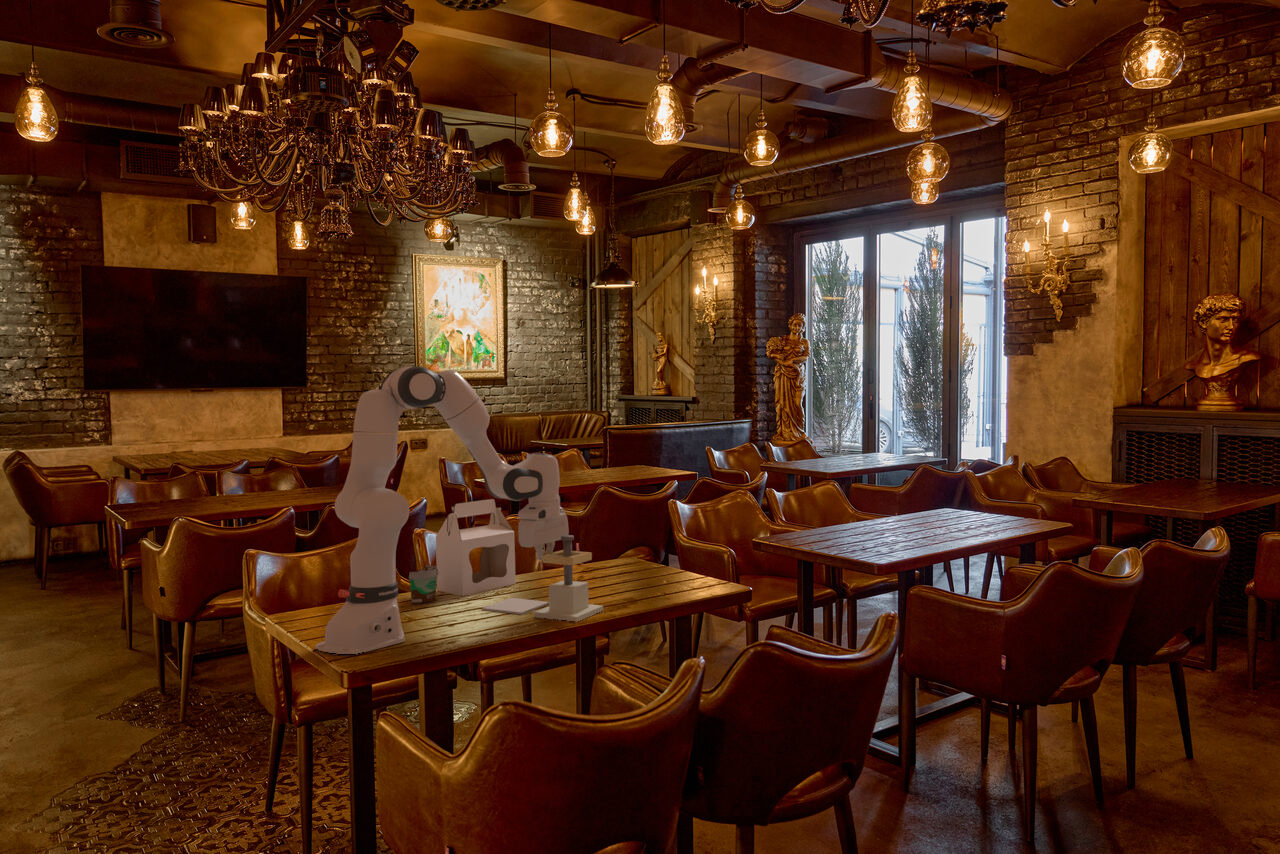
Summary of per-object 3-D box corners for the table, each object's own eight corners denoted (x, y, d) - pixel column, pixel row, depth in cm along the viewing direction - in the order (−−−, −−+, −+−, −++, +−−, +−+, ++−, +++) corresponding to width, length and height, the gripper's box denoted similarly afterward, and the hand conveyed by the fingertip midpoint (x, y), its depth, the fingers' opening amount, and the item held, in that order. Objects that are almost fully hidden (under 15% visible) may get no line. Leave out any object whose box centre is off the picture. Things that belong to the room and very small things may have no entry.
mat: (521, 614, 254) (521, 612, 254) (482, 609, 261) (482, 607, 261) (549, 604, 266) (549, 602, 266) (511, 599, 273) (511, 597, 273)
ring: (572, 565, 246) (572, 558, 246) (527, 561, 253) (527, 554, 253) (591, 559, 255) (591, 552, 255) (547, 555, 262) (547, 548, 262)
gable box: (490, 579, 305) (488, 496, 304) (516, 584, 296) (514, 499, 295) (436, 591, 288) (433, 503, 287) (462, 596, 279) (459, 506, 278)
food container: (428, 606, 266) (428, 572, 266) (409, 606, 268) (408, 572, 267) (446, 597, 278) (445, 565, 278) (427, 596, 280) (426, 564, 279)
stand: (576, 622, 244) (575, 541, 243) (534, 617, 251) (532, 538, 250) (603, 610, 257) (601, 533, 256) (562, 606, 263) (560, 531, 262)
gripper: (555, 505, 267) (556, 552, 267) (514, 513, 249) (514, 563, 249) (573, 506, 264) (574, 553, 264) (532, 514, 246) (533, 565, 246)
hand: (545, 558), depth 257 cm, fingers closed on ring, 2 cm apart
